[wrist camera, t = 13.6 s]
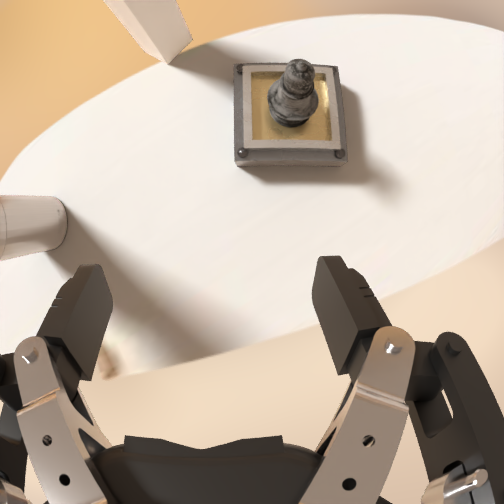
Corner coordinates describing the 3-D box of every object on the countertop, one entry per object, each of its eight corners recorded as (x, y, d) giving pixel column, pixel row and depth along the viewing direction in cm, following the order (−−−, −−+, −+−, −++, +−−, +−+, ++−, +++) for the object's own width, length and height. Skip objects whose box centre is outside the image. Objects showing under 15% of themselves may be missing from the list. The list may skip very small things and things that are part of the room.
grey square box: (237, 166, 37) (233, 159, 32) (236, 76, 35) (232, 58, 30) (339, 166, 37) (351, 159, 31) (331, 78, 35) (340, 61, 29)
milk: (168, 28, 34) (121, -57, 12) (194, 40, 34) (152, -55, 13) (143, 52, 35) (80, -26, 13) (167, 65, 35) (107, -22, 13)
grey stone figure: (273, 133, 32) (278, 95, 20) (261, 92, 31) (261, 42, 20) (319, 125, 32) (344, 87, 20) (306, 85, 31) (324, 35, 19)
